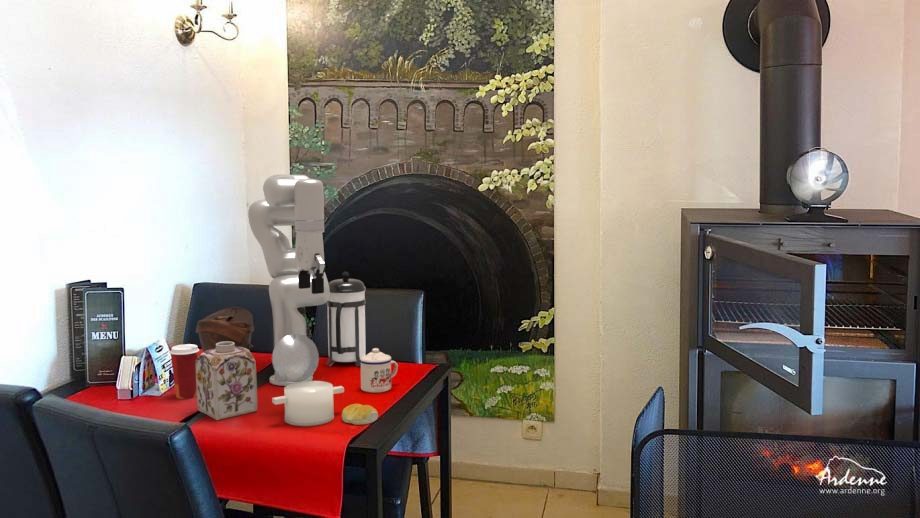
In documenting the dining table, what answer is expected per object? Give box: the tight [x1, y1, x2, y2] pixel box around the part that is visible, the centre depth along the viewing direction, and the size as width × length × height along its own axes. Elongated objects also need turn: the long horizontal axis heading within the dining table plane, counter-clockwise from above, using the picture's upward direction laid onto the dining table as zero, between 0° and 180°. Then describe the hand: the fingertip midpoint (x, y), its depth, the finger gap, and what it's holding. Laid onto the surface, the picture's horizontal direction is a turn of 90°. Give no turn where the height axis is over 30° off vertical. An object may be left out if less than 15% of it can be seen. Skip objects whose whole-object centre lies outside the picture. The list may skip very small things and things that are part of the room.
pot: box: [271, 380, 345, 427], centre depth 190 cm, size 12×18×8 cm, turn 125°
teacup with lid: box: [360, 347, 399, 394], centre depth 217 cm, size 12×9×12 cm
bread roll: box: [341, 403, 379, 426], centre depth 189 cm, size 8×9×4 cm
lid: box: [271, 334, 320, 382], centre depth 196 cm, size 12×12×2 cm
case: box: [195, 306, 255, 353], centre depth 242 cm, size 18×20×18 cm
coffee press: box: [326, 271, 367, 368], centre depth 244 cm, size 17×16×30 cm
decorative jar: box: [195, 341, 258, 421], centre depth 195 cm, size 12×12×18 cm
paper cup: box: [169, 343, 200, 400], centre depth 209 cm, size 8×8×14 cm
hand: (311, 290), depth 201 cm, fingers open, 9 cm apart
